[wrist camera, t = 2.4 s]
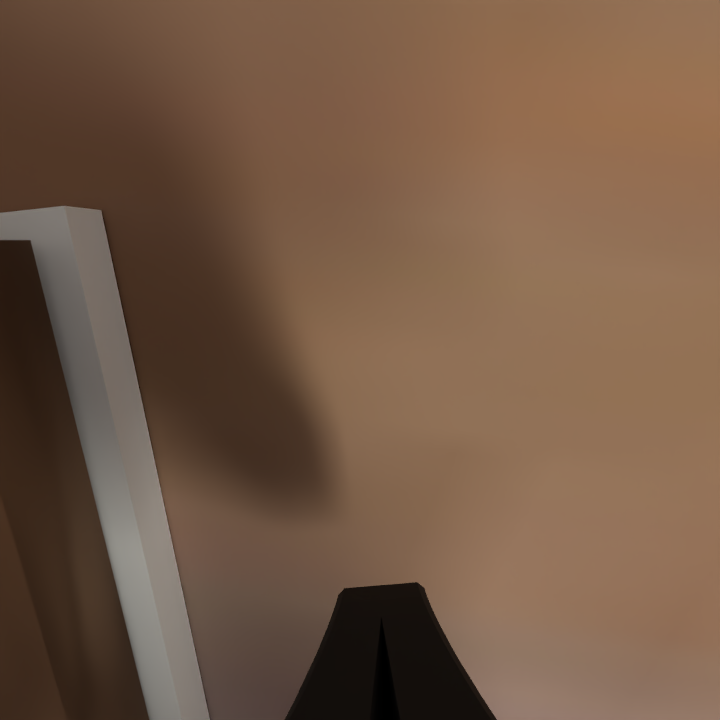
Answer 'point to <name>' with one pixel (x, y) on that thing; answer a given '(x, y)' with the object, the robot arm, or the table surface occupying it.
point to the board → (115, 448)
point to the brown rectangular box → (51, 532)
